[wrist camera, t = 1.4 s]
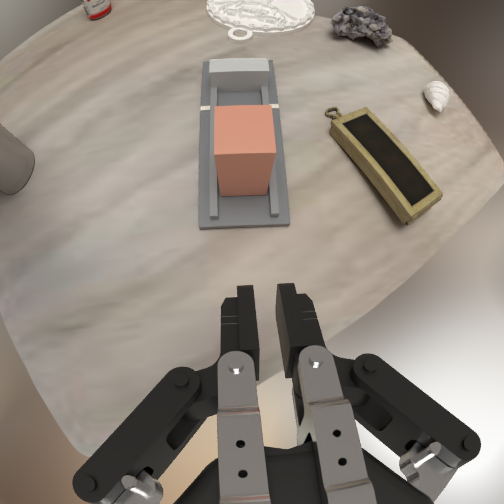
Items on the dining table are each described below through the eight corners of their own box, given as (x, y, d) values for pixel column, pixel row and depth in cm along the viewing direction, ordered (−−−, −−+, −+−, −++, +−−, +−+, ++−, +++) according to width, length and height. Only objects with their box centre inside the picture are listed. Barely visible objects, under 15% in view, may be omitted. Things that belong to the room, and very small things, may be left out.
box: (400, 233, 40) (414, 219, 36) (310, 127, 47) (313, 107, 42) (432, 208, 42) (446, 194, 37) (345, 112, 48) (351, 92, 43)
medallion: (322, 0, 52) (323, -7, 50) (295, 59, 47) (297, 51, 45) (230, -20, 52) (230, -26, 50) (180, 35, 48) (179, 27, 45)
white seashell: (420, 111, 46) (434, 95, 41) (419, 90, 47) (431, 75, 42) (443, 122, 46) (457, 108, 41) (441, 101, 47) (453, 87, 42)
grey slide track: (288, 225, 41) (297, 212, 35) (200, 229, 41) (193, 216, 35) (271, 64, 46) (275, 40, 40) (203, 66, 46) (200, 42, 40)
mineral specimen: (323, 26, 44) (362, -6, 36) (322, 15, 49) (356, -12, 41) (369, 69, 50) (407, 42, 42) (364, 53, 55) (397, 29, 47)
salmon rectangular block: (265, 194, 40) (276, 152, 28) (220, 196, 40) (214, 154, 28) (263, 155, 41) (271, 104, 29) (220, 156, 41) (214, 106, 29)
